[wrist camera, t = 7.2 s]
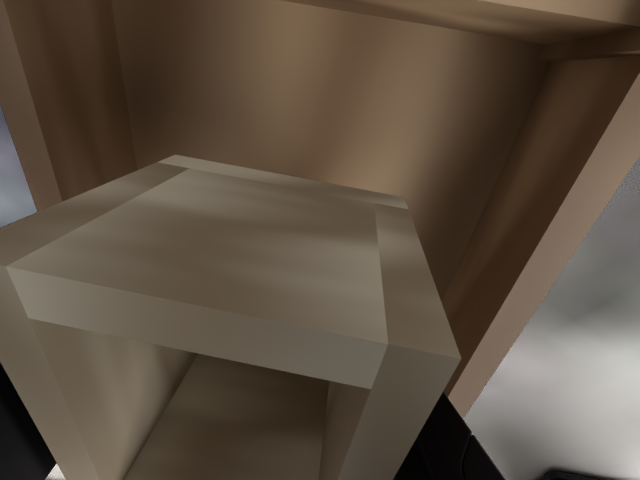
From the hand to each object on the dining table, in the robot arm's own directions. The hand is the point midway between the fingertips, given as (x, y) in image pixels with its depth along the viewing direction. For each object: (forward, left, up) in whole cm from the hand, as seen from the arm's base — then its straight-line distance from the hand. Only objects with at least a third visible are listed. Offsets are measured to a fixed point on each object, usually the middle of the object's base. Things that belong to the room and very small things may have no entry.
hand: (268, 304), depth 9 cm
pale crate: (0, 0, -1) cm, 1 cm away
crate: (0, 0, -6) cm, 6 cm away
